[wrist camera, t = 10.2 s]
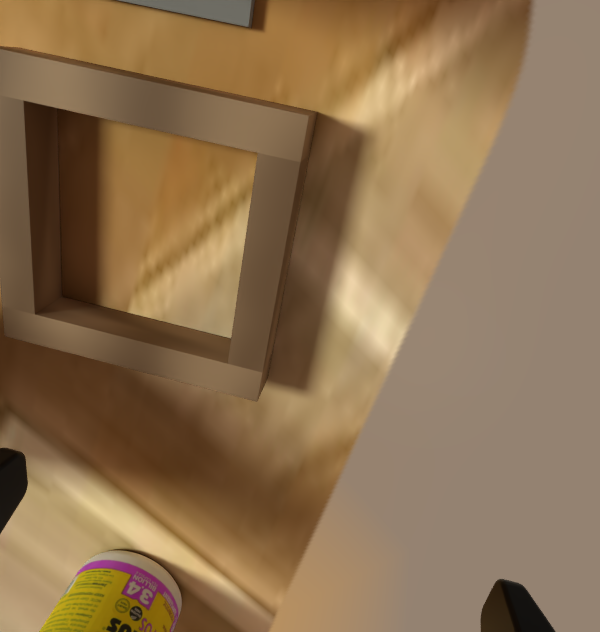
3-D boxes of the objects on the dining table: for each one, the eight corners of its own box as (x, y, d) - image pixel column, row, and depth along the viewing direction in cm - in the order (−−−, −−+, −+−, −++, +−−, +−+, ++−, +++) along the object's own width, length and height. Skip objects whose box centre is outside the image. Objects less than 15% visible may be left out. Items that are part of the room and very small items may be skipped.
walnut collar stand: (33, 317, 25) (4, 336, 23) (18, 47, 19) (-20, 44, 18) (267, 377, 24) (257, 401, 22) (317, 111, 19) (308, 115, 17)
